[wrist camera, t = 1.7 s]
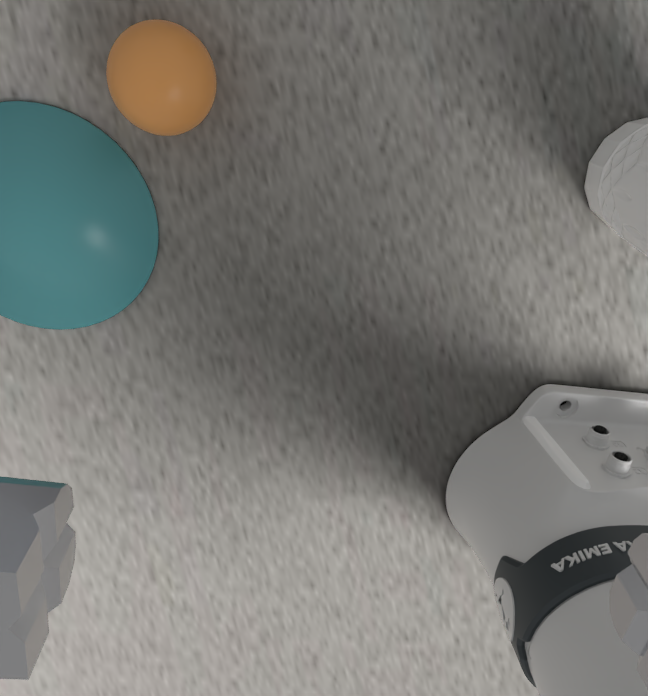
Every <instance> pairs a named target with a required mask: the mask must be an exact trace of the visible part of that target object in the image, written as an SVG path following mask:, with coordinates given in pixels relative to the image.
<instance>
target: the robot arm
mask: <svg viewBox="0 0 648 696" xmlns="http://www.w3.org/2000/svg"><path fill="white" fill-rule="evenodd" d="M563 401H567V402H566V403H565V404H564V405H561V406H560V404H561V403H562V402H563ZM446 507H447V512H448V515H449V518H450V520H451V522H452V524H453V526H454V527H455V529H456V530H457V531H458V532H459V534H460V535H461V536H462V537H463V538H464V539H465V540H466V542H467V543H468V544H469V545H470V547H471V548H472V550H473V551H474V552H475V554H476V556H477V557H478V559H479V561H480V562H481V564H482V565H483V567H484V569H485V571H486V573H487V574H488V576H489V578H490V580H491V582H492V584H493V586H494V594H495V600H496V604H497V608H498V611H499V614H500V618H501V620H502V623H503V626H504V629H505V632H506V634H507V637H508V639H509V641H511V643H512V645H513V648H514V650H515V653H516V655H517V657H518V660H519V662H520V665H521V667H522V669H523V672H524V674H525V676H526V677H527V678H528V680H529V681H530V682H531V683H532V684H533V685H534V686H535V687H536V688H537V690H538V693H539V695H540V696H648V394H644V393H635V392H625V391H615V390H605V389H595V388H586V387H576V386H566V385H556V384H547V385H543V386H540V387H539V388H537V389H536V390H534V391H533V392H532V393H531V394H530V395H529V396H528V397H527V398H526V400H525V401H524V402H523V403H522V404H521V406H520V407H519V408H518V409H517V411H516V412H515V413H514V414H513V415H512V416H510V417H509V418H508V419H506V420H505V421H503V422H502V423H500V424H498V425H497V426H495V427H493V428H492V429H490V430H489V431H487V432H486V433H484V434H483V435H482V436H480V437H479V438H478V439H477V440H476V441H474V442H473V443H472V444H471V445H470V446H469V447H468V448H467V449H466V451H465V452H464V453H463V454H462V456H461V457H460V458H459V460H458V461H457V463H456V465H455V466H454V468H453V470H452V472H451V475H450V478H449V480H448V484H447V489H446ZM73 508H74V504H73V494H72V488H71V487H70V486H69V485H68V484H64V483H55V482H46V481H37V480H28V479H18V478H9V477H0V679H29V678H30V675H31V673H32V671H33V668H34V666H35V664H36V661H37V659H38V657H39V654H40V652H41V650H42V647H43V645H44V643H45V640H46V638H47V636H48V633H49V626H48V612H50V611H51V610H52V609H54V608H55V607H56V606H58V605H59V604H61V603H62V600H63V598H64V595H65V593H66V590H67V588H68V585H69V582H70V577H71V573H72V569H73V565H74V559H75V548H76V540H75V531H74V530H73V529H72V528H71V527H70V526H69V525H68V524H67V523H66V522H67V520H68V518H69V516H70V514H71V512H72V510H73Z"/></svg>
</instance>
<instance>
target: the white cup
mask: <svg viewBox="0 0 648 696" xmlns="http://www.w3.org/2000/svg"><path fill="white" fill-rule="evenodd" d="M584 189H585V192H586V196H587V200H588V203H589V207H590V210H591V211H592V212H594V213H595V214H596V215H597V216H598V217H599V218H600V219H601V220H602V221H603V222H604V223H605V224H606V225H608V226H609V227H610V228H612V229H613V231H614V232H615V233H617V234H618V235H619V236H620V237H622V238H623V239H624V240H625V241H627V242H628V243H629V244H630V245H632V246H633V247H634V248H636V249H637V250H638V251H640V252H641V253H643V254H644V255H645V256H647V257H648V117H647V118H643V119H639V120H634V121H630V122H627V123H625V124H624V125H622V126H621V127H620V128H618V129H617V130H616V131H614V132H613V133H611V134H610V135H609V136H607V137H606V138H605V139H604V140H603V141H602V143H601V144H600V146H599V147H598V149H597V150H596V152H595V154H594V155H593V157H592V158H591V160H590V161H589V164H588V169H587V175H586V180H585V185H584Z"/></svg>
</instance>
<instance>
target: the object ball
mask: <svg viewBox="0 0 648 696" xmlns="http://www.w3.org/2000/svg"><path fill="white" fill-rule="evenodd" d="M106 76H107V84H108V88H109V91H110V94H111V97H112V99H113V101H114V103H115V105H116V106H117V108H118V109H119V111H120V112H121V113H122V114H123V115H124V117H125V118H126V119H128V120H129V121H130V122H131V123H132V124H134V125H135V126H136V127H138V128H140V129H142V130H144V131H146V132H149V133H152V134H155V135H161V136H173V135H178V134H182V133H185V132H187V131H190V130H191V129H193V128H195V127H196V126H197V125H199V124H200V123H201V122H202V121H203V120H204V118H205V117H206V116H207V114H208V113H209V111H210V109H211V107H212V105H213V102H214V99H215V95H216V86H217V81H216V72H215V68H214V64H213V61H212V59H211V57H210V54H209V53H208V51H207V49H206V47H205V46H204V45H203V44H202V42H201V41H200V40H199V39H198V38H197V37H196V36H195V35H194V34H193V33H192V32H190V31H189V30H187V29H186V28H184V27H183V26H181V25H178V24H176V23H174V22H170V21H166V20H157V19H153V20H146V21H142V22H139V23H136V24H134V25H132V26H130V27H129V28H127V29H126V30H125V31H124V32H123V33H121V34H120V36H119V37H118V38H117V39H116V41H115V43H114V44H113V46H112V48H111V50H110V53H109V56H108V60H107V68H106Z"/></svg>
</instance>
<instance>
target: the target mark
mask: <svg viewBox="0 0 648 696" xmlns="http://www.w3.org/2000/svg"><path fill="white" fill-rule="evenodd" d="M158 242H159V233H158V221H157V214H156V210H155V206H154V203H153V199H152V196H151V194H150V192H149V189H148V187H147V185H146V182H145V181H144V179H143V177H142V175H141V174H140V172H139V170H138V168H137V167H136V166H135V164H134V163H133V162H132V160H131V159H130V158H129V156H128V155H127V154H126V153H125V152H124V151H123V150H122V149H121V147H120V146H119V145H118V144H117V143H116V142H115V141H114V140H112V139H111V138H110V137H109V136H108V135H107V134H105V133H104V132H103V131H102V130H100V129H99V128H97V127H96V126H94V125H93V124H91V123H90V122H88V121H87V120H85V119H83V118H81V117H79V116H77V115H75V114H73V113H71V112H68V111H65V110H63V109H60V108H57V107H54V106H50V105H46V104H41V103H36V102H26V101H8V102H0V315H1V316H4V317H6V318H9V319H11V320H13V321H16V322H19V323H23V324H26V325H29V326H34V327H40V328H46V329H75V328H81V327H86V326H90V325H93V324H96V323H100V322H102V321H104V320H106V319H108V318H111V317H112V316H114V315H116V314H117V313H119V312H120V311H122V310H123V309H124V308H126V307H127V306H128V305H129V304H130V303H131V302H132V301H133V300H134V299H135V298H136V297H137V296H138V294H139V293H140V292H141V291H142V289H143V287H144V286H145V284H146V283H147V281H148V279H149V277H150V275H151V272H152V270H153V268H154V264H155V260H156V256H157V251H158Z"/></svg>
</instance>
